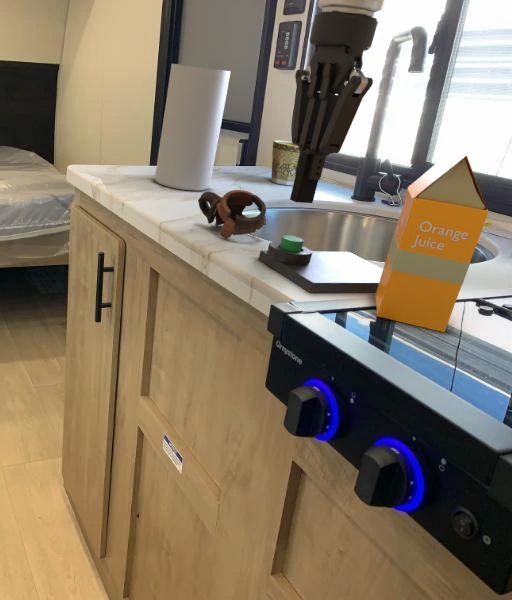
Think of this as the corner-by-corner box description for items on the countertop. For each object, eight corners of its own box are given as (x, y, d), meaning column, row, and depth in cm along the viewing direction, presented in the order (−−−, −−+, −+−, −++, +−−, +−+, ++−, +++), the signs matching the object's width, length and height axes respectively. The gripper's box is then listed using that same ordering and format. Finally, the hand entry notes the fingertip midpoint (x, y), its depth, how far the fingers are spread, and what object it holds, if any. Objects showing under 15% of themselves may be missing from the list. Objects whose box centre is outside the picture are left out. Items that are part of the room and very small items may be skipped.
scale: (346, 260, 94) (351, 242, 92) (407, 292, 82) (414, 271, 81) (255, 259, 88) (259, 239, 87) (307, 293, 77) (312, 271, 76)
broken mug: (262, 234, 104) (279, 200, 98) (242, 268, 99) (258, 233, 92) (202, 204, 107) (214, 168, 100) (178, 235, 101) (189, 199, 95)
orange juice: (437, 308, 78) (492, 152, 70) (445, 332, 70) (509, 160, 62) (373, 293, 80) (420, 141, 72) (375, 316, 72) (427, 147, 65)
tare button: (292, 247, 87) (295, 235, 86) (304, 253, 84) (307, 241, 84) (275, 246, 86) (278, 234, 85) (286, 253, 83) (289, 241, 83)
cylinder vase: (153, 176, 141) (170, 63, 132) (206, 183, 141) (226, 70, 132) (155, 186, 130) (173, 63, 120) (212, 194, 130) (234, 71, 120)
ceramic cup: (298, 189, 149) (308, 148, 145) (259, 181, 153) (268, 141, 150) (311, 183, 159) (320, 145, 156) (275, 176, 164) (283, 138, 160)
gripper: (291, 10, 78) (253, 188, 87) (357, 7, 67) (305, 213, 76) (339, 18, 81) (297, 191, 89) (410, 17, 69) (354, 215, 78)
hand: (301, 201), depth 83 cm, fingers closed
